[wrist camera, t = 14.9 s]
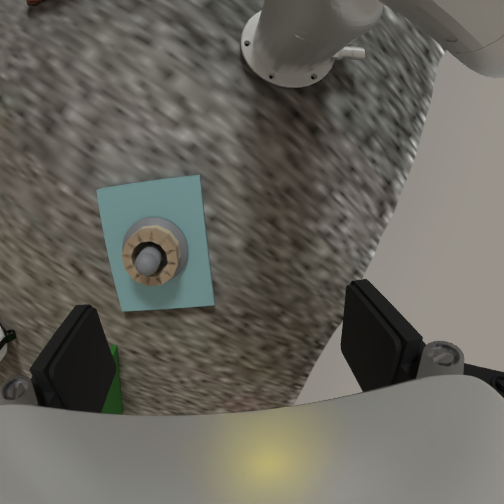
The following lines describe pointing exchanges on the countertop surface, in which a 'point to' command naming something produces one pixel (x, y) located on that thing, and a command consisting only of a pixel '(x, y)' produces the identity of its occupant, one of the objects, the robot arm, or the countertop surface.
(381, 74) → the countertop surface
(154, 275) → the ring
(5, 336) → the coffee press
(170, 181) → the teal plate with knob
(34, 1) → the pastry
